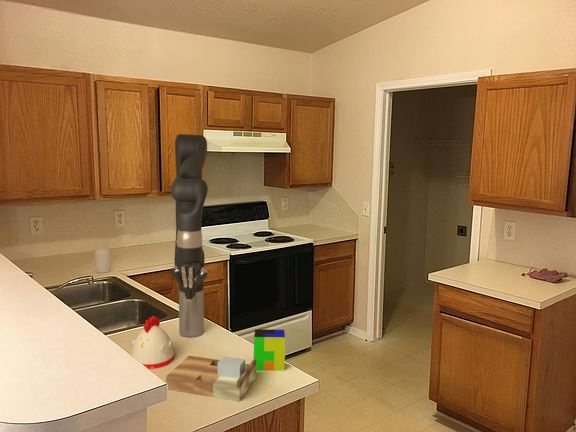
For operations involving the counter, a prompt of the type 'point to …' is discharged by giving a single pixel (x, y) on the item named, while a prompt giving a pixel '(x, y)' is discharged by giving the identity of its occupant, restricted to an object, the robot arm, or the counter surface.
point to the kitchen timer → (153, 346)
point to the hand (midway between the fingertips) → (189, 298)
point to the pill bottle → (102, 259)
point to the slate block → (231, 367)
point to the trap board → (209, 379)
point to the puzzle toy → (269, 349)
